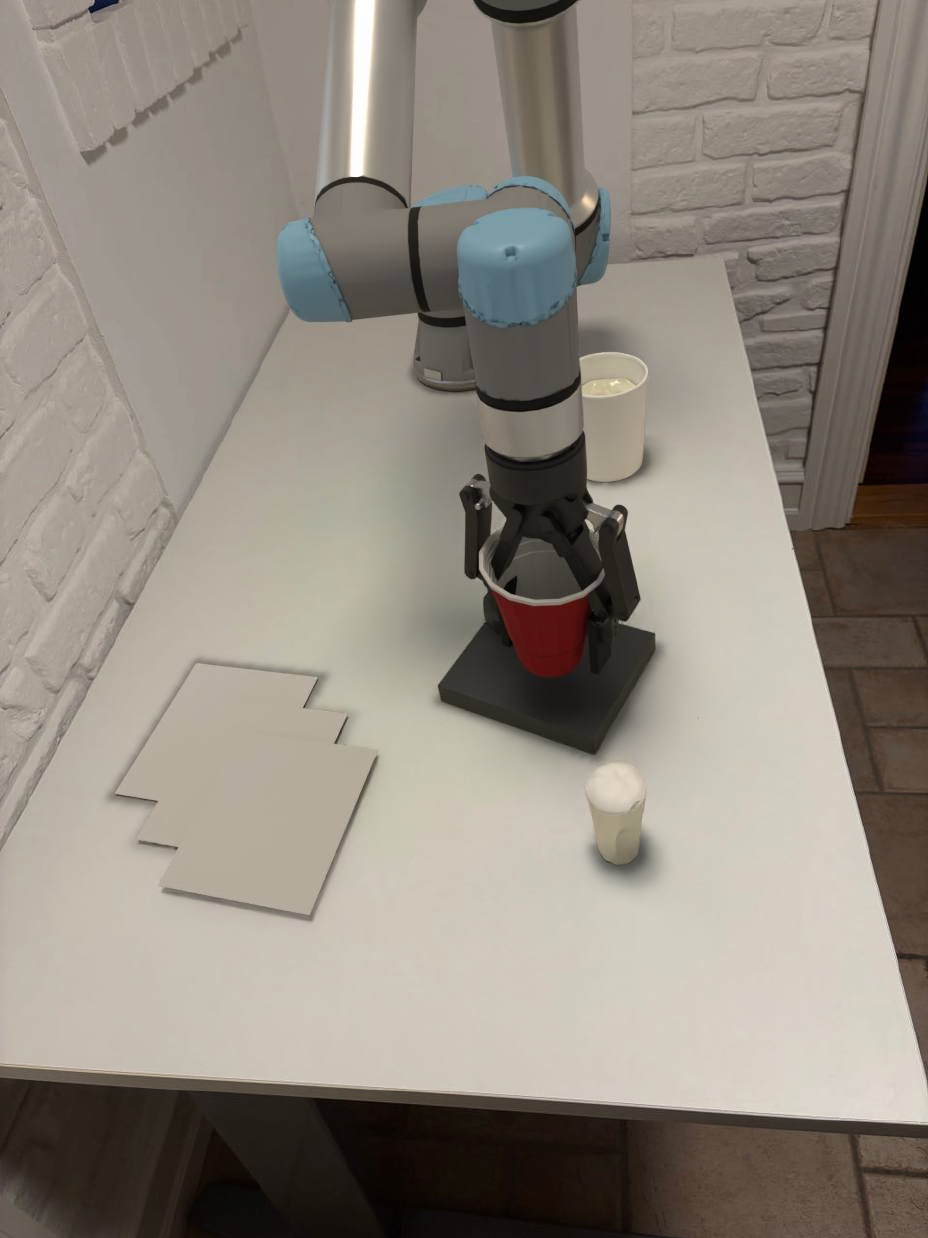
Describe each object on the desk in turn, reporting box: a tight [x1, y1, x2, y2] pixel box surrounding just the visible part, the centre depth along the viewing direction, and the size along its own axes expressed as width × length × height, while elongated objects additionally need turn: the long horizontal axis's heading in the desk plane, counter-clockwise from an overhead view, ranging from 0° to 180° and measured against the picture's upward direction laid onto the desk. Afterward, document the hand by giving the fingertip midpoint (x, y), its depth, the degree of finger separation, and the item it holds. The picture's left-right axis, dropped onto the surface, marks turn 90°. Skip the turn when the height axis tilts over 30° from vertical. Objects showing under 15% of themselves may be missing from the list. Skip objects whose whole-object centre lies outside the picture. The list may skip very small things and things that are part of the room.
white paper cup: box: [579, 351, 649, 483], centre depth 111 cm, size 10×10×12 cm
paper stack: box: [114, 662, 379, 916], centre depth 87 cm, size 23×25×1 cm
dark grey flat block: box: [437, 591, 656, 755], centre depth 91 cm, size 15×17×4 cm
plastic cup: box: [479, 525, 605, 677], centre depth 82 cm, size 11×11×12 cm
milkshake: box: [584, 761, 648, 866], centre depth 73 cm, size 4×5×10 cm
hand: (556, 649), depth 86 cm, fingers closed on plastic cup, 8 cm apart
